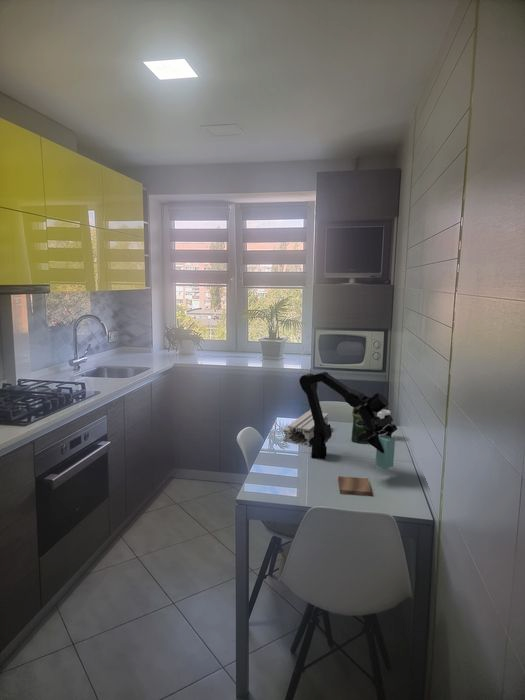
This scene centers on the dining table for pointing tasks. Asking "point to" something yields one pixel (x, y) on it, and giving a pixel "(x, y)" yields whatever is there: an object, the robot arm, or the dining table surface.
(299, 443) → the aluminum extrusion profile
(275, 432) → the dining table surface
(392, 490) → the dining table surface
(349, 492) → the walnut board
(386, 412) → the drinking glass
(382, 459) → the teal block
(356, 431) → the coffee jar
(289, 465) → the dining table surface
